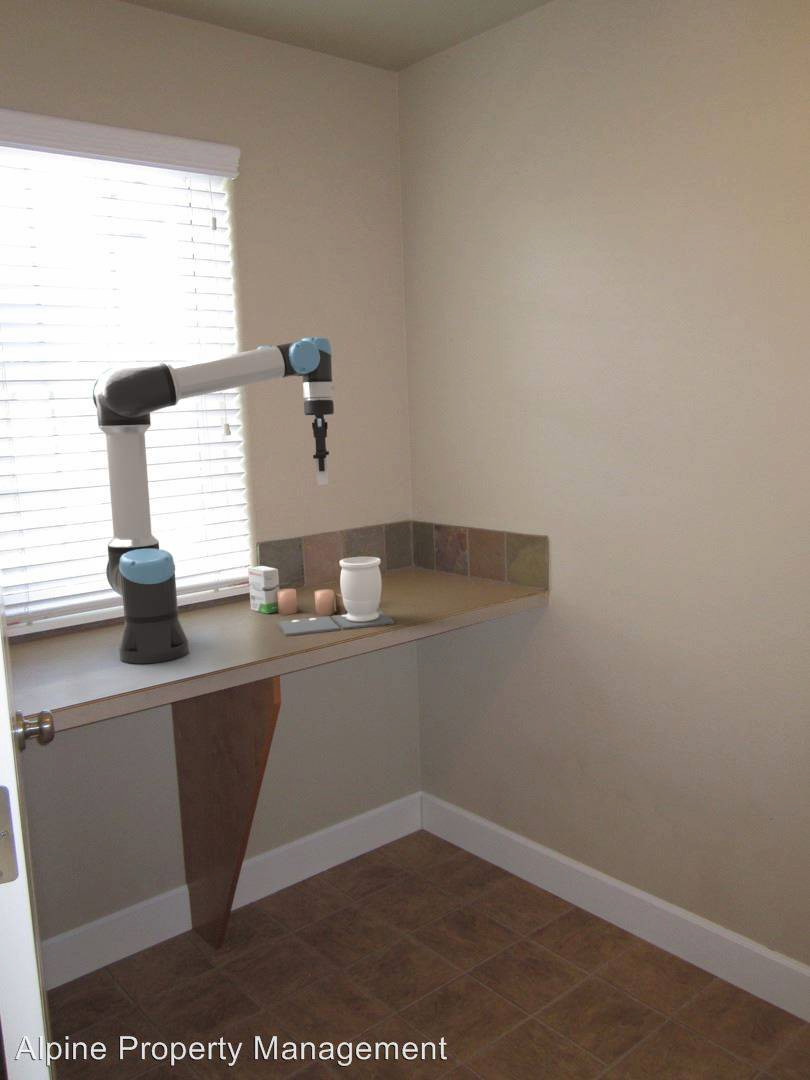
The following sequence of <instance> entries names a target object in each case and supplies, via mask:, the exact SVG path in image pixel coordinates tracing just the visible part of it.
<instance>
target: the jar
mask: <svg viewBox="0 0 810 1080" xmlns="http://www.w3.org/2000/svg"><path fill="white" fill-rule="evenodd" d="M338 563H339V566H340V567H341V571H340V577H339V580H340V581H339V583H340V594H341V593H342V597H343V603H344V606H345V608H346V610H347V612H348V613H347V615H346V619H347V620H349V621H353V622H367V621H372V620H375V619H377V618H378V617H379V614H378V613H377V611H378V609H379V606H380V603H381V594H382V585H383V584H382V583H383V582H382V574H381V570H380V567H379V565H380V564H381V559H380V558H379V557H377V556H376V557H375V556H354V557H353V556H352V557H347V558H346V557H345V558H342V559H340V560H339V562H338Z"/></svg>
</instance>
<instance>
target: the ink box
mask: <svg viewBox="0 0 810 1080" xmlns="http://www.w3.org/2000/svg"><path fill="white" fill-rule="evenodd" d="M247 569H248V570H247V571H248V584H249V598H250V599H249V600H250V602H249V603H250V610H251V611H255V612H259V613H262V614H266V615H269V614H271V613H272V614H273V613H278V599H277V591H278V590H280V580H279V579H280V577H279V569H278V568H275V567H271V566H265V565H260V566H259V565H258V566H251V567H247Z"/></svg>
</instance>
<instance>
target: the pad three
mask: <svg viewBox="0 0 810 1080" xmlns="http://www.w3.org/2000/svg"><path fill="white" fill-rule="evenodd" d="M377 613H378V614H379V617H378V618H377V619H375V620H372V621H367V622H353V621H349V620H347V619H346V615H347V614H345V615H341V614H337V615H335V614H334V615H331V620H332V621H333V620H334V621H333V622H334V623H335V624H336V625H337V626H338V625H339V626H338V627H339V628H341V629H342V628H343V629H345V630H351V629H350V628H353V629H360V628H359V627H362V628H368V627H369V626H371V627H379V625H380V626H387V625H386V624H388V625H394V623H395V620H394V619H392V618H390V617H389V616H388V615H387V614H386V613H384V612H383V611H382V610H377ZM369 628H370V627H369ZM343 629H342V630H343Z"/></svg>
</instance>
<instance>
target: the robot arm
mask: <svg viewBox="0 0 810 1080" xmlns="http://www.w3.org/2000/svg"><path fill="white" fill-rule="evenodd" d="M331 349H332V347H331V342H330V339H329V338H327V337H323V336H322V337H321V336H320V337H319V336H318V337H304V338H302V339H301V340H296V341H293V342H288V343H284V344H278V345H270V344H269V345H263V346H262V345H261V346H258V347H257V349H256V348H255V349H252V350H247V351H242V352H236V353H230V354H225V355H220V356H215V357H210V358H205V359H204V358H203V359H199V360H195V361H194V360H193V361H190V362H185V363H178V364H173V365H171V364H169V363H167V362H166V361H163V362H158V363H150V364H133V365H132V364H125V365H120V366H116V367H110V368H108V369H106V370H105V371H103V372H101V374H100V375H99V376H98V377H97V378H96V380H95V382H94V385H93V388H92V401H93V404H94V406H95V408H96V414H97V424H98V429H99V430H101V431H102V432H103V433H104V434H105V437H106V438H105V439H106V452H107V454H106V455H107V463H108V465H107V466H108V475H109V476H108V478H109V489H110V490H109V491H110V492H109V493H110V504H111V505H110V506H111V516H112V517H111V518H112V520H111V521H112V531H113V532H112V533H113V537H112V538H111V540H110V541H109V542H108V543H107V554H108V555H107V557H108V560H107V563H106V570H105V571H106V572H105V575H106V579H107V582H108V583H109V586H110V587H111V588H112V589H113V591H114V592H115V593H117V594H118V595H119V596H121V597H122V603H123V604H122V605H123V614H124V615H123V616H124V626H123V627H124V628H123V631H122V635H121V638H120V643H119V644H120V645H119V648H118V649H119V650H118V653H119V659H120V661H122V662H125V663H130V664H154V663H162V662H167V661H172V660H174V659H175V660H176V659H178V658H180V657H183V656H186V655H187V654H188V653H189V652H190V647H189V646H190V645H189V640H188V638H187V636H186V634H185V633H186V632H185V630H184V628H183V626H182V623H181V622H180V619H179V609H178V597H177V596H178V595H177V583H176V564H175V563H174V558H173V555H172V554H171V553H170V552H169V551H167V550H164V549H160V540H158V539H157V538H156V537H155V536H154V535H153V534H152V520H151V519H152V518H151V510H150V509H151V506H150V505H151V504H150V494H149V493H150V492H149V479H148V478H149V477H148V465H147V464H148V463H147V450H146V449H147V448H146V436H145V434H146V432H147V431H148V429H150V428H151V425H152V424H151V413H152V412H155V411H159V410H161V409H165V408H170V407H173V406H176V405H177V404H178V402H179V401H180V400H184V399H188V398H194V397H198V396H202V395H207V394H212V393H216V392H222V391H226V390H231V389H235V388H240V387H245V386H250V385H254V384H259V383H264V382H268V381H272V380H279V379H282V378H283V379H284V378H289V377H302V393H303V395H302V396H303V399H304V402H303V411H304V415H305V416H314V419H313V422H312V423H311V428H312V430H313V438H314V440H315V453H314V454H313V455H312V457H313V459H315V467H316V468H315V470H316V484H317V486H318V485H320V486H321V485H328V484H329V472H328V470H329V469H328V456H329V455H330V451H328V450H327V445H326V444H327V443H326V439H327V437H328V425H329V424H328V422H327V421H326V420H325V416H328V415H329V416H330V415H334V413H335V408H334V401H333V399H331V398H333V397H334V393H333V392H334V391H333V390H335V389H336V387H335V385H333V373H332V371H333V367H332V357H333V355H332V350H331Z"/></svg>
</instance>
